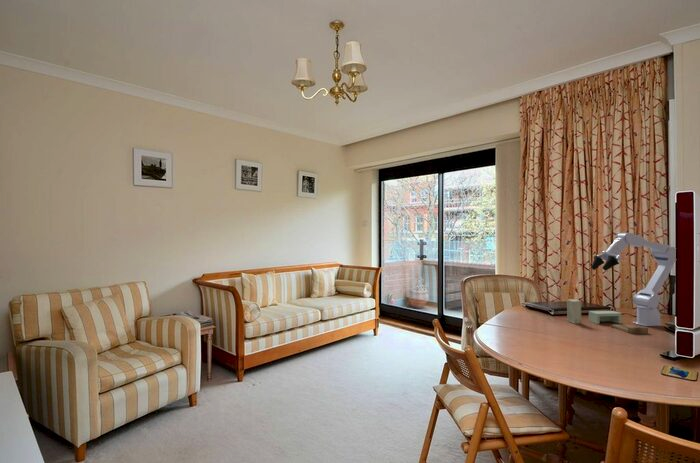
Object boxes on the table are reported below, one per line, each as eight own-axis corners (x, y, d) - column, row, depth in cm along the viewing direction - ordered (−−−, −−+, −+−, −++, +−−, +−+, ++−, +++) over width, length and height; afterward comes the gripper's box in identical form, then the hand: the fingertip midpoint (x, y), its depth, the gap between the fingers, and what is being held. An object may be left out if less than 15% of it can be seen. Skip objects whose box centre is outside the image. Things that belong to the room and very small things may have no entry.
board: (627, 327, 186) (627, 321, 186) (647, 333, 174) (647, 327, 174) (610, 327, 186) (610, 321, 186) (630, 334, 174) (630, 328, 174)
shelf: (612, 320, 199) (612, 310, 199) (621, 323, 193) (621, 313, 193) (588, 321, 198) (588, 311, 198) (596, 323, 192) (596, 313, 192)
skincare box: (581, 323, 192) (581, 301, 192) (573, 323, 192) (573, 301, 192) (574, 320, 199) (574, 299, 199) (566, 320, 199) (566, 299, 199)
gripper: (598, 245, 195) (582, 263, 194) (620, 244, 181) (603, 264, 180) (607, 254, 195) (591, 272, 194) (630, 254, 181) (613, 273, 180)
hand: (598, 268), depth 187 cm, fingers open, 7 cm apart
